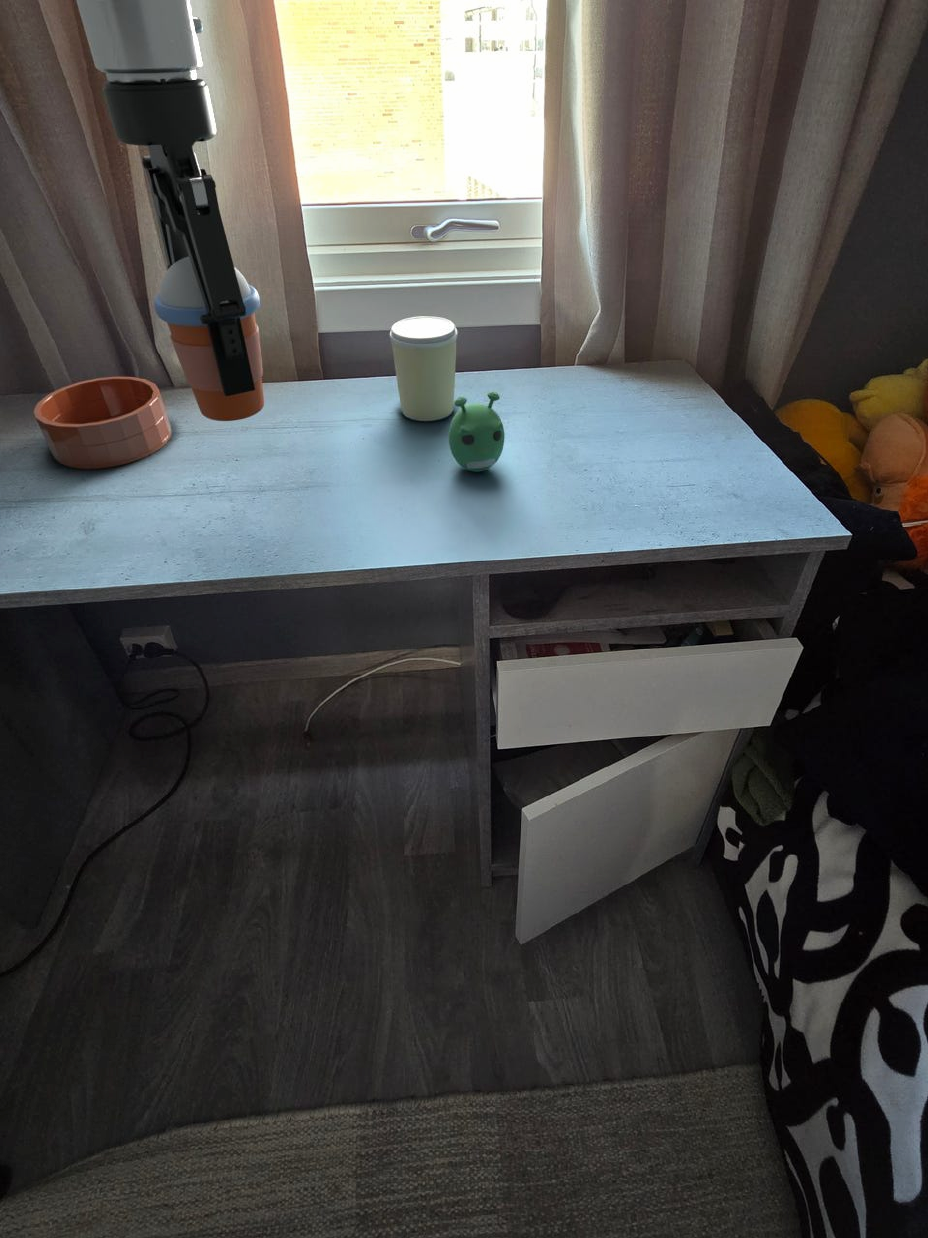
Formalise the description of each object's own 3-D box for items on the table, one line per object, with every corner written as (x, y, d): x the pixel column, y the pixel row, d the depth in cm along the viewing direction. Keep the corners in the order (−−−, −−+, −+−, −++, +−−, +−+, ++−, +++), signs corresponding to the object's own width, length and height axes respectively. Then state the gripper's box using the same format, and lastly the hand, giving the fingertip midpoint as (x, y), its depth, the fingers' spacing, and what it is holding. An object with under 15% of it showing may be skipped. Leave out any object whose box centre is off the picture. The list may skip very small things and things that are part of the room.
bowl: (61, 480, 88) (41, 437, 84) (46, 432, 98) (28, 392, 94) (183, 449, 94) (170, 407, 90) (157, 407, 104) (145, 368, 100)
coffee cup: (429, 390, 107) (425, 310, 99) (471, 408, 102) (471, 325, 94) (383, 410, 102) (375, 327, 94) (425, 430, 97) (421, 344, 89)
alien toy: (459, 488, 86) (457, 412, 79) (443, 459, 91) (441, 386, 84) (512, 480, 87) (515, 404, 80) (494, 451, 92) (495, 379, 86)
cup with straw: (296, 410, 68) (259, 200, 56) (209, 438, 64) (149, 217, 52) (253, 382, 73) (211, 185, 61) (170, 406, 69) (108, 198, 57)
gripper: (246, 83, 46) (301, 406, 60) (170, 67, 60) (230, 332, 75) (128, 88, 43) (216, 426, 58) (78, 70, 57) (159, 346, 72)
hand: (224, 373), depth 66 cm, fingers closed on cup with straw, 9 cm apart
